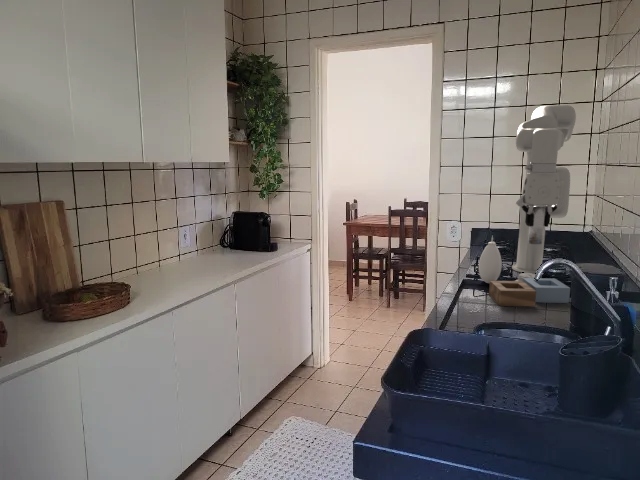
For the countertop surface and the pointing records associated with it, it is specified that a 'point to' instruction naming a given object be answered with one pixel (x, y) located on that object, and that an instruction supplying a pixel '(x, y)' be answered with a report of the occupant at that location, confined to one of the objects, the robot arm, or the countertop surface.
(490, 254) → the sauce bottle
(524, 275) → the mechanical component
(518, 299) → the walnut mount
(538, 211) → the steel pin
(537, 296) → the socket block
